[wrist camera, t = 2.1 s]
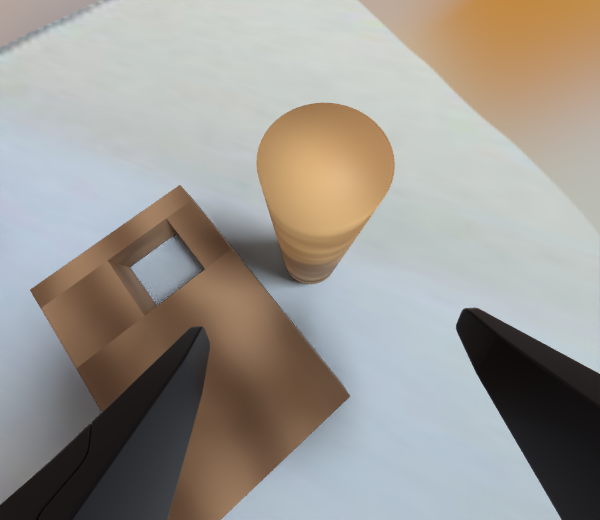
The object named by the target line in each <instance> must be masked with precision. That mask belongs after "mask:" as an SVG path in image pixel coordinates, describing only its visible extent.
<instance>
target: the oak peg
mask: <svg viewBox="0 0 600 520" xmlns="http://www.w3.org/2000/svg"><path fill="white" fill-rule="evenodd" d="M394 166H395V165H394V155H393V151H392V147H391V145H390V142H389V140H388V138H387V137H386V135H385V133H384V132H383V131H382V129H381V128H380V127H379V126H378V125H377V124H376V123H375V122H374V121H373V120H372V119H371V118H369V117H368V116H366V115H365V114H363V113H362V112H360V111H358V110H356V109H353V108H350V107H348V106H344V105H340V104H333V103H315V104H309V105H304V106H301V107H298V108H295V109H293V110H291V111H289V112H287V113H286V114H284V115H282V116H281V117H280V118H279V119H277V120H276V121H275V122H274V123H273V124H272V125H271V126H270V127H269V129H268V130H267V131H266V133H265V135H264V136H263V138H262V140H261V143H260V145H259V149H258V153H257V172H258V177H259V180H260V184H261V187H262V190H263V194H264V197H265V200H266V203H267V207H268V210H269V213H270V217H271V220H272V223H273V226H274V230H275V233H276V236H277V240H278V243H279V246H280V249H281V253H282V256H283V259H284V262H285V266H286V268H287V271H288V272H289V274H290V275H291V276H292V277H293V278H294V279H295V280H297V281H299V282H301V283H305V284H316V283H319V282H322V281H323V280H325V279H326V278H328V277H329V276H330V274H331V273H332V272H333V270H334V269H335V267H336V266H337V264H338V263H339V262H340V260H341V259H342V257H343V256H344V254H345V253H346V251H347V250H348V249H349V247H350V246H351V244H352V243H353V241H354V240H355V238H356V237H357V236H358V234H359V233H360V231H361V230H362V228H363V227H364V226H365V224H366V223H367V221H368V220H369V218H370V217H371V215H372V214H373V213H374V211H375V210H376V208H377V207H378V205H379V204H380V202H381V201H382V200H383V198H384V197H385V195H386V193H387V192H388V190H389V188H390V185H391V183H392V180H393V175H394Z"/></svg>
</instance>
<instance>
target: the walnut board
mask: <svg viewBox="0 0 600 520" xmlns="http://www.w3.org/2000/svg"><path fill="white" fill-rule="evenodd" d="M176 233H178V234H179V236H180V237H181V238H182V240H183V241H184V242H185V243H186V245H187V246H188V247H189V249H190V250H191V251H192V253H193V254H194V255H195V257H196V258H197V259H198V260H199V262H200V263H201V264H202V266H203V267H204V268H205V270H203V271H202V272H201V273H199V274H198V275H197V276H196V277H194V278H193V279H192V280H190V281H189V282H188V283H186V284H185V285H184V286H183V287H181V288H180V289H179V290H177V291H176V292H175V293H173V294H172V295H171V296H170V297H168V298H167V299H166V300H164V301H163V302H162V303H161V304H159V305H158V306H157V305H156V304H155V302H154V301H153V300H152V298H151V297H150V295H149V294H148V292H147V291H146V290H145V288H144V287H143V285H142V284H141V282H140V281H139V280H138V278H137V277H136V275H135V274H134V272H133V271H132V269H131V268H130V267H131V266H132V265H134V264H135V263H136V262H138V261H139V260H141V259H142V258H143V257H145V256H146V255H147V254H149V253H150V252H151V251H153V250H154V249H156V248H157V247H158V246H160V245H161V244H162V243H164V242H165V241H166V240H168V239H169V238H171V237H172V236H173V235H175V234H176ZM30 291H31V293H32V294H33V296H34V298H35V299H36V301H37V303H38V304H39V306H40V308H41V310H42V311H43V313H44V315H45V316H46V318H47V320H48V321H49V323H50V325H51V327H52V328H53V330H54V332H55V333H56V335H57V337H58V338H59V340H60V342H61V343H62V345H63V347H64V349H65V350H66V352H67V354H68V355H69V357H70V359H71V360H72V362H73V364H74V365H75V367H76V369H77V371H78V372H79V374H80V376H81V377H82V379H83V381H84V382H85V384H86V386H87V387H88V389H89V391H90V393H91V394H92V396H93V398H94V399H95V401H96V403H97V404H98V406H99V408H100V410H101V411H102V412H103V411H104V410H105V409H106V408H107V407H108V406H109V405H110V404H111V403H112V402H113V401H114V400H115V399H116V398H117V397H118V396H119V395H121V394H122V393H123V392H124V391H125V390H126V389H127V388H128V387H129V386H130V385H131V384H132V383H133V382H134V381H135V380H136V379H137V378H138V377H139V376H140V375H141V374H142V373H143V372H144V371H145V370H147V369H148V368H149V367H150V366H151V365H152V364H153V363H154V362H155V361H156V360H157V359H158V358H159V357H160V356H161V355H162V354H163V353H164V352H165V351H166V350H167V349H168V348H169V347H170V346H171V345H173V344H174V343H175V342H176V341H177V340H178V339H179V338H180V337H181V336H182V335H183V334H184V333H185V332H186V331H187V330H188V329H189V328H191V327H196V326H203V327H204V328H205V330H206V333H207V336H208V339H209V341H210V351H209V357H208V363H207V369H206V375H205V381H204V387H203V392H202V396H201V400H200V404H199V408H198V411H197V415H196V418H195V422H194V426H193V429H192V433H191V436H190V440H189V444H188V447H187V451H186V455H185V458H184V462H183V465H182V469H181V473H180V476H179V480H178V483H177V487H176V491H175V494H174V498H173V501H172V505H171V509H170V512H169V516H168V520H221V519H222V518H223V517H224V516H225V515H226V514H227V513H228V512H229V511H230V510H231V509H232V508H233V507H234V506H236V505H237V504H238V503H239V502H240V501H241V500H242V499H243V498H244V497H245V496H246V495H247V494H248V493H249V492H250V491H251V490H252V489H253V488H254V487H255V486H257V485H258V484H259V483H260V482H261V481H262V480H263V479H264V478H265V477H266V476H267V475H268V474H269V473H270V472H271V471H272V470H273V469H274V468H275V467H276V466H277V465H279V464H280V463H281V462H282V461H283V460H284V459H285V458H286V457H287V456H288V455H289V454H290V453H291V452H292V451H293V450H294V449H295V448H296V447H297V446H298V445H299V444H301V443H302V442H303V441H304V440H305V439H306V438H307V437H308V436H309V435H310V434H311V433H312V432H313V431H314V430H315V429H316V428H317V427H318V426H319V425H320V424H321V423H323V422H324V421H325V420H326V419H327V418H328V417H329V416H330V415H331V414H332V413H333V412H334V411H335V410H336V409H337V408H338V407H339V406H340V405H341V404H342V403H343V402H345V401H346V400H347V399H348V398H349V397H350V395H349V394H348V392H347V390H346V389H345V387H344V386H343V384H342V383H341V382H340V381H339V379H338V378H337V377H336V376H335V375H334V373H333V372H332V371H331V370H330V368H329V367H328V366H327V365H326V363H325V362H324V361H323V360H322V358H321V357H320V356H319V355H318V353H317V352H316V351H315V350H314V348H313V347H312V346H311V345H310V344H309V342H308V341H307V340H306V339H305V337H304V336H303V335H302V334H301V332H300V331H299V330H298V329H297V327H296V326H295V325H294V324H293V322H292V321H291V320H290V319H289V317H288V316H287V315H286V314H285V313H284V311H283V310H282V309H281V308H280V306H279V305H278V304H277V303H276V301H275V300H274V299H273V298H272V296H271V295H270V294H269V293H268V291H267V290H266V289H265V288H264V286H263V285H262V284H261V283H260V282H259V280H258V279H257V278H256V277H255V275H254V274H253V273H252V272H251V270H250V269H249V268H248V267H247V265H246V264H245V263H244V262H243V260H242V259H241V258H240V257H239V255H238V254H237V253H236V252H235V251H234V249H233V248H232V247H231V246H230V244H229V243H228V242H227V241H226V239H225V238H224V237H223V236H222V234H221V233H220V232H219V231H218V229H217V228H216V227H215V226H214V224H213V223H212V222H211V221H210V219H209V218H208V217H207V216H206V215H205V213H204V212H203V211H202V210H201V208H200V207H199V206H198V205H197V203H196V202H195V201H194V200H193V199H192V197H191V196H190V195H189V194H188V193H187V192H186V191H185V190H184V189H183V188H182V187H181V185H179V186H178V187H176V188H175V189H173V190H172V191H171V192H169V193H168V194H166V195H165V196H163V197H162V198H161V199H159V200H158V201H156V202H155V203H153V204H152V205H151V206H149V207H148V208H146V209H145V210H143V211H142V212H141V213H139V214H138V215H136V216H135V217H133V218H132V219H131V220H129V221H128V222H126V223H125V224H123V225H122V226H121V227H119V228H118V229H116V230H115V231H113V232H112V233H111V234H109V235H108V236H106V237H105V238H103V239H102V240H101V241H99V242H98V243H96V244H95V245H93V246H92V247H91V248H89V249H88V250H86V251H85V252H83V253H82V254H81V255H79V256H78V257H76V258H75V259H73V260H72V261H71V262H69V263H68V264H66V265H65V266H63V267H62V268H61V269H59V270H58V271H56V272H55V273H53V274H52V275H51V276H49V277H48V278H46V279H45V280H43V281H42V282H41V283H39V284H38V285H36V286H35V287H33V288H32V289H31V290H30Z"/></svg>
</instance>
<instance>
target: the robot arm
mask: <svg viewBox="0 0 600 520" xmlns="http://www.w3.org/2000/svg"><path fill="white" fill-rule="evenodd" d="M456 330H457V333H458V335H459V337H460V339H461V341H462V344H463V346H464V348H465V350H466V352H467V354H468V357H469V359H470V361H471V363H472V365H473V367H474V369H475V371H476V373H477V375H478V377H479V379H480V381H481V382H482V384H483V386H484V387H485V389H486V391H487V393H488V394H489V396H490V398H491V399H492V401H493V403H494V405H495V406H496V408H497V410H498V411H499V413H500V415H501V417H502V418H503V420H504V422H505V423H506V425H507V427H508V429H509V430H510V432H511V434H512V435H513V437H514V439H515V441H516V442H517V444H518V446H519V447H520V449H521V451H522V453H523V454H524V456H525V458H526V459H527V461H528V463H529V465H530V466H531V468H532V470H533V471H534V473H535V475H536V476H537V478H538V480H539V482H540V483H541V485H542V487H543V488H544V490H545V492H546V494H547V495H548V497H549V499H550V500H551V502H552V504H553V506H554V507H555V509H556V511H557V512H558V514H559V516H560V518H561V519H562V520H600V374H599V373H597V372H595V371H593V370H592V369H590V368H588V367H586V366H584V365H582V364H580V363H579V362H577V361H575V360H573V359H571V358H569V357H567V356H566V355H564V354H562V353H560V352H558V351H556V350H554V349H553V348H551V347H549V346H547V345H545V344H543V343H541V342H540V341H538V340H536V339H534V338H532V337H530V336H528V335H527V334H525V333H523V332H521V331H519V330H517V329H516V328H514V327H512V326H510V325H508V324H506V323H504V322H503V321H501V320H499V319H497V318H495V317H493V316H491V315H490V314H488V313H486V312H484V311H482V310H480V309H478V308H465V309H463V310H462V312H461V314H460V317H459V319H458V322H457V324H456ZM209 351H210V341H209V339H208V336H207V333H206V330H205V328H204V327H203V326H196V327H191V328H189V329H188V330H187V331H186V332H185V333H184V334H183V335H182V336H181V337H180V338H179V339H178V340H177V341H176V342H175V343H174V344H173V345H171V346H170V347H169V348H168V349H167V350H166V351H165V352H164V353H163V354H162V355H161V356H160V357H159V358H158V359H157V360H156V361H155V362H154V363H153V364H152V365H151V366H150V367H149V368H148V369H147V370H145V371H144V372H143V373H142V374H141V375H140V376H139V377H138V378H137V379H136V380H135V381H134V382H133V383H132V384H131V385H130V386H129V387H128V388H127V389H126V390H125V391H124V392H123V393H122V394H121V395H119V396H118V397H117V398H116V399H115V400H114V401H113V402H112V403H111V404H110V405H109V406H108V407H107V408H106V409H105V410H104V411H103V412H102V413H101V414H100V415H99V416H98V417H97V418H96V419H95V420H93V422H92V425H91V424H90V425H88V426H87V427H86V428H85V429H84V430H83V431H82V432H81V433H80V434H79V435H78V436H77V437H76V438H75V439H74V440H72V441H71V442H70V443H69V444H68V445H67V446H66V447H65V448H64V449H63V450H62V451H61V452H60V453H59V454H57V455H56V456H55V457H54V458H53V459H52V460H51V461H50V462H49V463H48V464H47V465H45V466H44V467H43V468H42V469H41V470H40V471H39V472H37V473H36V474H35V475H34V476H33V477H32V478H31V479H30V480H28V481H27V482H26V483H25V484H24V485H23V486H22V487H20V488H19V489H18V490H17V491H16V492H15V493H13V494H12V495H11V496H10V497H9V498H8V499H7V500H5V501H4V502H3V503H2V504H1V505H0V520H168V516H169V512H170V509H171V505H172V501H173V498H174V494H175V491H176V487H177V483H178V480H179V476H180V473H181V469H182V465H183V462H184V458H185V455H186V451H187V447H188V444H189V440H190V436H191V433H192V429H193V426H194V422H195V418H196V415H197V411H198V408H199V404H200V400H201V396H202V392H203V387H204V381H205V375H206V369H207V363H208V357H209Z"/></svg>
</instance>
